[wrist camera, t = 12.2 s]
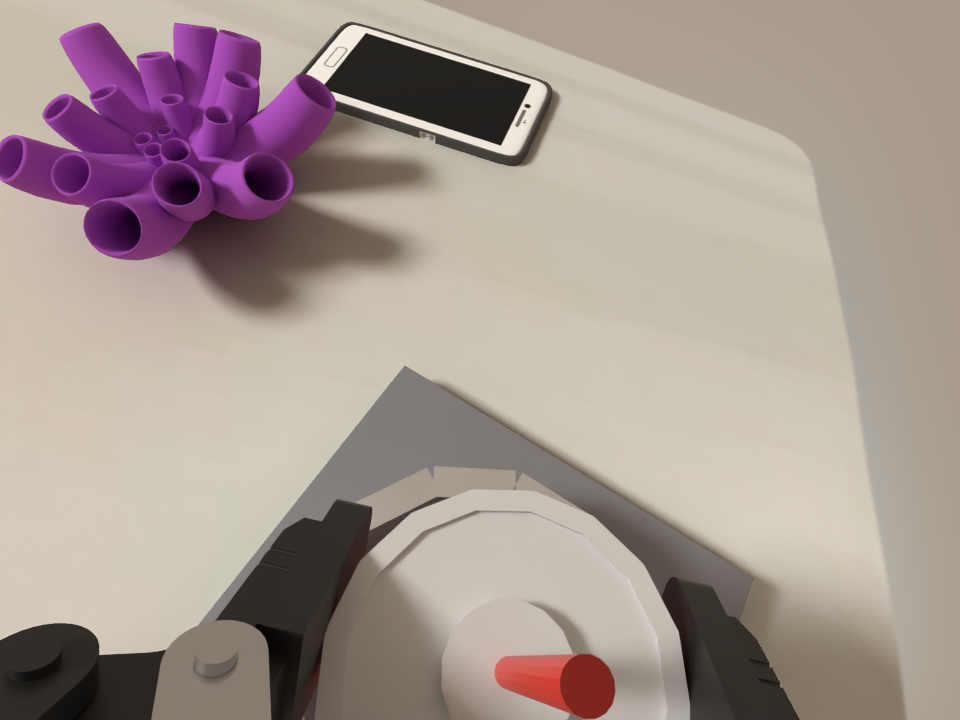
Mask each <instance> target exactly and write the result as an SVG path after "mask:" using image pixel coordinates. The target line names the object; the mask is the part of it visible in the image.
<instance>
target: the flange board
mask: <svg viewBox="0 0 960 720" xmlns="http://www.w3.org/2000/svg"><path fill="white" fill-rule="evenodd" d="M434 466H442V467H460V468H478V469H497V470H515V471H516V483H517V481H518V480H519V478H520V476H521V474H522V473H524V474H525V475H527V476H529V477H530V478H532V479H533V480H535V481H537V482H538V483H540V484H541V485H543V486H545V487H546V488H548V489H550V490H551V491H553V492H554V493H556V494H558V495H559V496H561V497H562V498H564V499H566V500H567V501H569V502H570V503H572V504H574V505H575V506H577V507H578V508H580V509H582V510H583V511H585V512H586V513H588V514H590V515H592V516H594V517H595V518H596V519H597V520H598V521H599V522H600V523H601V524H602V525H603V526H604V527H605V528H606V529H608V530H609V531H610V532H611V533H612V534H613V535H614V536H615V537H616V538H617V539H618V540H619V541H620V542H621V543H622V544H623V545H624V546H625V547H626V548H627V549H628V550H629V551H631V552H632V553H633V554H634V555H635V556H636V557H637V558H638V559H639V560H640V561H641V562H642V563H643V564H644V566H645V567H646V569H647V571H648V573H649V575H650V577H651V579H652V581H653V583H654V585H655V587H656V589H657V591H658V593H659V595H660V597H662V594H663V592H664V589H665V586H666V584H667V582H668V580H669V579H670V578H671V577H677V578H682V579H686V580H691V581H695V582H699V583H704V584H708V585H711V586H712V587H713V588H714V590H715V592H716V594H717V596H718V598H719V600H720V602H721V604H722V606H723V608H724V610H725V612H726V614H727V616H731V617H736V618H737V619H738V620H739V619H740V616H741V613H742V610H743V607H744V604H745V601H746V598H747V595H748V592H749V589H750V586H751V583H752V580H753V577H751V576H750V575H748V574H746V573H745V572H743V571H741V570H740V569H738V568H736V567H735V566H733V565H732V564H730V563H728V562H727V561H725V560H723V559H722V558H720V557H718V556H717V555H715V554H713V553H712V552H710V551H709V550H707V549H705V548H704V547H702V546H700V545H699V544H697V543H695V542H694V541H692V540H690V539H689V538H687V537H686V536H684V535H682V534H681V533H679V532H677V531H676V530H674V529H672V528H671V527H669V526H667V525H666V524H664V523H663V522H661V521H659V520H658V519H656V518H654V517H653V516H651V515H649V514H648V513H646V512H644V511H643V510H641V509H640V508H638V507H636V506H635V505H633V504H631V503H630V502H628V501H626V500H625V499H623V498H621V497H620V496H618V495H617V494H615V493H613V492H612V491H610V490H608V489H607V488H605V487H603V486H602V485H600V484H598V483H597V482H595V481H594V480H592V479H590V478H589V477H587V476H585V475H584V474H582V473H580V472H579V471H577V470H575V469H574V468H572V467H571V466H569V465H567V464H566V463H564V462H562V461H561V460H559V459H557V458H556V457H554V456H552V455H551V454H549V453H547V452H546V451H544V450H543V449H541V448H539V447H538V446H536V445H534V444H533V443H531V442H529V441H528V440H526V439H524V438H523V437H521V436H520V435H518V434H516V433H515V432H513V431H511V430H510V429H508V428H506V427H505V426H503V425H501V424H500V423H498V422H497V421H495V420H493V419H492V418H490V417H488V416H487V415H485V414H483V413H482V412H480V411H478V410H477V409H475V408H474V407H472V406H470V405H469V404H467V403H465V402H464V401H462V400H460V399H459V398H457V397H455V396H454V395H452V394H451V393H449V392H447V391H446V390H444V389H442V388H441V387H439V386H437V385H436V384H434V383H432V382H431V381H429V380H428V379H426V378H424V377H423V376H421V375H419V374H418V373H416V372H414V371H413V370H411V369H409V368H408V367H406V366H404V367H403V368H402V370H401V371H400V372H399V373H398V375H397V376H396V377H395V378H394V380H393V381H392V382H391V383H390V385H389V386H388V387H387V388H386V390H385V391H384V392H383V393H382V395H381V396H380V397H379V399H378V400H377V401H376V402H375V404H374V405H373V406H372V407H371V409H370V410H369V411H368V412H367V414H366V415H365V416H364V417H363V419H362V420H361V421H360V422H359V424H358V425H357V426H356V427H355V429H354V430H353V431H352V432H351V434H350V435H349V436H348V438H347V439H346V440H345V441H344V443H343V444H342V445H341V446H340V448H339V449H338V450H337V451H336V453H335V454H334V455H333V456H332V458H331V459H330V460H329V461H328V463H327V464H326V465H325V466H324V468H323V469H322V470H321V471H320V473H319V474H318V475H317V476H316V478H315V479H314V480H313V482H312V483H311V484H310V485H309V487H308V488H307V489H306V490H305V492H304V493H303V494H302V495H301V497H300V498H299V499H298V500H297V502H296V503H295V504H294V505H293V507H292V508H291V509H290V510H289V512H288V513H287V514H286V515H285V517H284V518H283V519H282V521H281V522H280V523H279V524H278V526H277V527H276V528H275V529H274V531H273V532H272V533H271V534H270V536H269V537H268V538H267V539H266V541H265V542H264V543H263V544H262V546H261V547H260V548H259V549H258V551H257V552H256V553H255V554H254V556H253V557H252V558H251V559H250V561H249V562H248V563H247V565H246V566H245V567H244V568H243V570H242V571H241V572H240V573H239V575H238V576H237V577H236V578H235V580H234V581H233V582H232V583H231V585H230V586H229V587H228V588H227V590H226V591H225V592H224V593H223V595H222V596H221V597H220V598H219V600H218V601H217V602H216V603H215V605H214V606H213V607H212V609H211V610H210V611H209V612H208V614H207V615H206V616H205V617H204V619H203V620H202V621H201V622H200V624H199V625H201V624H205V623H208V622H213V621H215V620H216V619H217V617H218V616H219V615H220V614H221V612H222V611H223V610H224V608H225V607H226V606H227V604H228V603H229V602H230V600H231V599H232V598H233V596H234V595H235V594H236V592H237V591H238V590H239V588H240V587H241V586H242V584H243V583H244V582H245V580H246V579H247V578H248V576H249V575H250V574H251V572H252V571H253V570H254V568H255V567H256V566H257V565H259V563H260V560H261V559H262V558H263V556H264V555H265V554H266V552H267V551H268V550H270V548H271V546H272V544H273V543H274V542H275V540H276V539H277V538H278V536H279V535H280V534H281V532H282V531H283V530H284V529H286V528H287V527H289V526H291V525H292V524H294V523H296V522H298V521H299V520H301V519H303V518H304V517H305V518H309V519H314V520H318V521H322V520H323V519H324V517H325V516H326V514H327V513H328V511H329V510H330V508H331V506H332V505H333V503H334V502H335V501H336V500H337V499H340V500H345V501H349V502H353V503H355V502H357V501H359V500H361V499H363V498H365V497H367V496H369V495H372V494H374V493H376V492H378V491H380V490H382V489H384V488H386V487H388V486H390V485H392V484H394V483H396V482H398V481H400V480H402V479H405V478H407V477H409V476H411V475H413V474H415V473H417V472H419V471H421V470H423V469H425V468H428V470H429V472H430V474H431V476H432V478H433V477H434ZM199 625H198V626H199Z"/></svg>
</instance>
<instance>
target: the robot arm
mask: <svg viewBox="0 0 960 720" xmlns="http://www.w3.org/2000/svg"><path fill="white" fill-rule="evenodd" d="M371 519H372V507H371V506H367V505H362V504H358V503H353V502H349V501H345V500H340V499H337V500H336V501H335V502H334V503H333V505H332V506H331V508H330V510H329V511H328V513H327V514H326V516H325V517H324V519H323V520H322V521H318V520H314V519H309V518H305V517H304V518H303V519H301V520H299V521H298V522H296V523H294V524H292V525H291V526H289V527H287V528H286V529H284V530H283V531H282V532H281V534H280V535H279V536H278V538H277V539H276V540H275V542H274V543H273V544H272V546H271V548H270V550H268V551H267V552H266V554H265V555H264V556H263V558H262V559H261V560H260V563H259V565H257V566H256V567H255V568H254V570H253V571H252V572H251V574H250V575H249V576H248V578H247V579H246V580H245V582H244V583H243V584H242V586H241V587H240V588H239V590H238V591H237V592H236V594H235V595H234V596H233V598H232V599H231V600H230V602H229V603H228V604H227V606H226V607H225V608H224V610H223V611H222V612H221V614H220V615H219V616H218V617H217V619H216V620H215V621H213V622H208V623H205V624H201V625H199V626H196V627H194V628H192V629H190V630H188V631H186V632H185V633H183V634H182V635H181V636H179V637H178V638H177V639H176V640H175V641H174V642H173V643H171V645H170V646H169V647H168V649H167V650H163V651H158V652H150V653H134V654H112V655H99V643H98V640H97V638H96V636H95V635H94V634H93V633H92V632H91V631H89V630H88V629H86V628H84V627H82V626H78V625H74V624H66V623H55V624H46V625H41V626H36V627H32V628H29V629H26V630H22V631H20V632H17V633H15V634H12V635H10V636H8V637H6V638H4V639H2V640H0V720H302V718H303V716H304V714H305V711H306V709H307V707H308V705H309V702H310V700H311V698H312V695H313V693H314V691H315V689H316V686H317V684H318V682H319V675H320V667H321V659H322V651H323V642H324V636H325V633H326V630H327V627H328V624H329V622H330V620H331V618H332V616H333V614H334V612H335V610H336V608H337V606H338V604H339V602H340V600H341V598H342V596H343V594H344V592H345V590H346V588H347V586H348V584H349V582H350V580H351V578H352V576H353V574H354V572H355V570H356V568H357V566H358V564H359V562H360V560H361V559H362V558H363V557H364V556H365V554H366V548H367V542H368V536H369V530H370V525H371ZM661 599H662V600H663V602H664V604H665V606H666V608H667V610H668V612H669V614H670V616H671V618H672V620H673V622H674V624H675V626H676V628H677V630H678V632H679V637H680V643H681V649H682V656H683V662H684V669H685V675H686V681H687V688H688V694H689V701H690V720H799V718H798V716H797V714H796V712H795V710H794V708H793V706H792V705H791V703H790V701H789V699H788V697H787V695H786V693H785V691H784V690H783V688H780V682H779V680H778V678H777V677H776V675H775V673H774V671H773V669H772V668H769V662H768V660H767V658H766V656H765V654H764V652H763V650H762V649H761V647H760V645H759V643H758V641H757V639H756V638H755V637H754V636H753V635H752V634H751V633H750V632H749V631H748V630H747V629H746V628H745V627H744V626H743V625H742V624H741V623H740V621H739V620H738V619H737V618H736V617H731V616H727V614H726V612H725V610H724V608H723V606H722V604H721V602H720V600H719V598H718V596H717V594H716V592H715V590H714V588H713V587H712V586H711V585H708V584H704V583H699V582H695V581H691V580H686V579H682V578H677V577H671V578H670V579H669V580H668V582H667V584H666V586H665V589H664V592H663V594H662V597H661Z"/></svg>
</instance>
